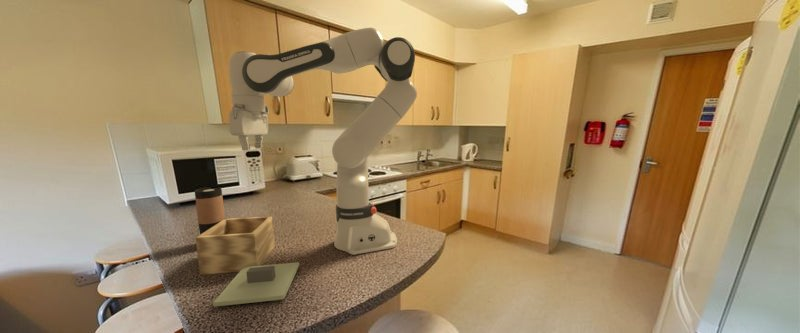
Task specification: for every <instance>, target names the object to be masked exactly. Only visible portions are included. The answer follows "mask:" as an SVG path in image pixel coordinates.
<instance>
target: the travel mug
mask: <svg viewBox="0 0 800 333" xmlns="http://www.w3.org/2000/svg"><path fill="white" fill-rule="evenodd" d="M222 191H223V190H222V187H220V186H217V187H216V188H211V187H203V188H198V189H196V190H194V196H195V206H196V207H195V208H196V215H197V224H198V229H199V235H201V234H202V233H204V232H205V231H207V230H208V229H210V228H211V227H213V226H214V225H216V224H218V223H219V222H221V221H222V220H224V219H226V214H225V207H224V198H223V192H222Z"/></svg>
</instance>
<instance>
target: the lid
mask: <svg viewBox="0 0 800 333" xmlns="http://www.w3.org/2000/svg"><path fill="white" fill-rule="evenodd" d="M299 267H300V262H299V261H298V262H297V261H296V262H288V263H273V264H262V265H261V266H249V267H243V268H242V270H241V271H239V272H238V273H237V274H236V275H235V276H234V278H233V279H232V280H230V282H229V283H228V285H227V286H226V287H225V288H224V289H223V290H222V292H220V294H219V295H218V297H216V299H215V300H214V301H213V303H212V304H213V308H214V307H224V306H233V305H241V304H242V305H243V304H250V303H251V304H252V303H262V302H270V301H271V302H273V301H281V300H284V299H285V298H286V295H287V293H288V291H289V289H290V287H291V284H292V282H293V280H294V278H295V276H296V274H297V272H298V269H299Z"/></svg>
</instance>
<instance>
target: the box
mask: <svg viewBox="0 0 800 333" xmlns="http://www.w3.org/2000/svg"><path fill="white" fill-rule="evenodd" d="M273 221H274V219H273V215H272V216H256V217H255V216H254V217H239V218H237V217H236V218H235V217H234V218H225V219H224V220H222V221H221V222H219V223H218V224H216V225H214V226H213V227H211V228H210V229H208V230H207V231H205V232H204V233H202V234H201V235H200V234H199V235H197V236H196V237H195V238H194V239H195V246H196V253H197V259H198V260H197V261H198V268H199V275H200V276H204V275H215V274H216V275H217V274H227V273H237V272H238V273H239V272H240V271H241V270H242V268H243V267H249V266H261V265H263V263H265V261H266V259H267V258H268V256H269V255H270V254H271V253H272V251H273V249H274V248H275V247H276V246H275V245H276V243H275V233H274V232H275V231H274V222H273Z"/></svg>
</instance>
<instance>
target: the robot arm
mask: <svg viewBox="0 0 800 333" xmlns="http://www.w3.org/2000/svg"><path fill="white" fill-rule="evenodd" d="M415 61H416V53H415V48H414V46H413V45H412V43H411V42H410V41H409V40H408V39H406V38H404V37H400V36H399V37H397V36H396V37H393V38H390V39H389V40H387V41H386V42H385V40H384V38H383V36H382V34H381V33H380V32H379V31H378V30H377V29H376V28H374V27H363V28H358V29H355V30H351V31H348V32H345V33H342V34H340V35H337V36H335V37H332V38H328V39H326V40H323V41H320V42H316V43H311V44H308V45H305V46H304V45H303V46H301V47H297V48H295V49H291V50H287V51H284V52H282V53H276V54H262V53H261V54H259V53H258V54H257V53H255V52H252V51H237V52H235V53H232V55H231V56H230V59H229V66H228V68H229V70H228V71H229V73H228V74H229V82H230V85H231V88H232V89H231V90H232V91H231V94H230V95H231V104H232V107H231V110H230V111H229V116H228V117H229V120H228V121H229V133H230V134H231V136H233V137H234V136H237V137H238V140H239V143H240V145H241V150H242V151H250V150H251V144H249V136H254V138H255V143H254V148H255V149H262V148H263V145H262V144H263V139H264V136H266V135H268V133H269V117H268V115H269V113H270V110H269V107H268V106H267V104H266V102H265V100H264V99H265V98H264V97H265V95H270V96H273V97H277V98H280V97H287V96H288V95H289V94H291V92H293V89H294V85H295V81H294V77H295V76H297V75H300V74H304V73H305V72H309V71H313V70H323V71H328V72H331V73H334V74H339V75H341V74H345V73H350V72H354V71H357V70H358V69H361V68H364V67H367V66H369V65H370V66H371V65H372V66H373V67H374V68H375V69H376V71H377V72H378V73H379V75H380V76H381V78H382V79H383V80H384V81H386V85H385V86H384V88H383V89H382V90H381V91H380V93H379V94H378V95H377V96H376V97H375V98H374V99H373V100H372V101H371V102H370V104H368V106H367V107H365V109H364V110H363V111H362V112H361V114H359V116H358V117H357V118H356V119H355V120H353V121H352V123H351V124H350V125H349V126H347V128H345V130H344V131H343V132H341V133H340V135H339V136H338V137H337V139H336V140H335V141H334V142H333V143H332V144H333V145H332V148H331V153H332V157H333V159H334V161H335V163H336V164H337V165H336V182H335V184H336V186H335V187H336V206H335V218H336V223H337V224H336V233H335V238H334V242H333V244H334V245H333V246H334V247H335V248H336V249H338V250H339V251H343V252H346V253H347V254H348V255H349V254H350V255H352V256H353V255H361V254H365V253H372V252H377V251H382V250H389V249H393V248H395V247H397V245H398V238H397V235H396V233H395V232H393V231H392V230H391V227H390V224H389V223H388V221H387V220H386V219H385V218H383V217H382V216H380V215H379V214H377V207H376V206H375V205H374V203H373V202H372V203H371V202H370V196H369V195H370V194H369V193H370V192H369V156H370V155H371V154H372V153H373V151H375V150H376V148H377V147H378V146H379V145H380V143H381V142H382V141H383V140H384V138H386V136H387V135H388V134H389V133H390V132H391V131H392V129H394V128H395V127H396V125H397V124H398V123H399V122H400V121H401V120H402V119H403V117H405V115H406V114H407V113H408V111H409V110H410V109H411V107H412V106H413V104H414V102H415V100H416V99H417V96H418V93H417V88H416V87H415V85H414V84H413V82H412V81H411V80H410V78H411V77H412V74H413V72H414V71H413V69H414V65H415ZM293 76H294V77H293Z"/></svg>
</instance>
